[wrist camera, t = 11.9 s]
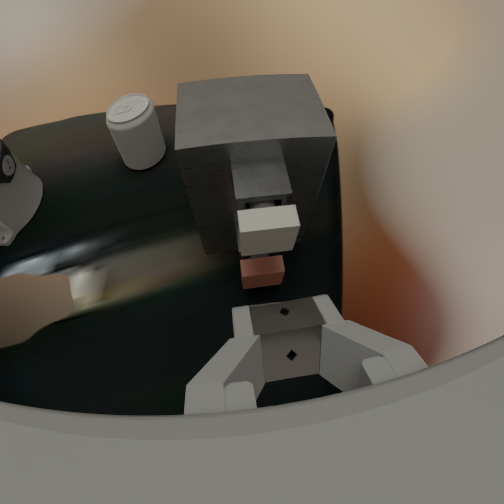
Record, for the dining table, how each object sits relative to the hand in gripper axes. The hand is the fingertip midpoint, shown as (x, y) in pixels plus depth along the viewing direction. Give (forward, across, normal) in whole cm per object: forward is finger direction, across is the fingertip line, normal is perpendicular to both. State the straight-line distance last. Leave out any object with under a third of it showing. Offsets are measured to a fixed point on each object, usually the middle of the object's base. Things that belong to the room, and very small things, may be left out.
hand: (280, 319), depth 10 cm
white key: (+20, +2, -3) cm, 21 cm away
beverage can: (+49, -15, +4) cm, 51 cm away
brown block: (+28, +2, -11) cm, 30 cm away
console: (+36, +2, -9) cm, 37 cm away
